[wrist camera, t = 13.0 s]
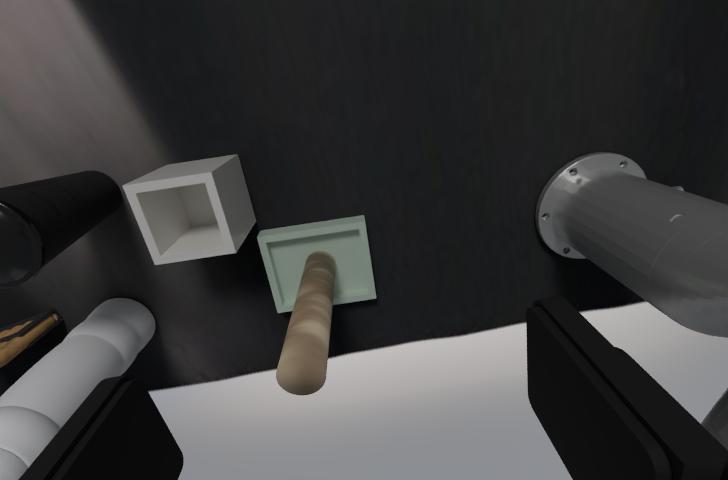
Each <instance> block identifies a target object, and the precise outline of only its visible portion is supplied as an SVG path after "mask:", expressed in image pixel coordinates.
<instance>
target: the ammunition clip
mask: <svg viewBox="0 0 728 480" xmlns="http://www.w3.org/2000/svg"><path fill="white" fill-rule="evenodd" d="M62 321H63V319H62V318H61V317H60V316H59V315H58V313H57V312H56V311H55V310H54V309H51V310H48V311H45V312H43V313H40V314H37V315H35V316H32V317H29V318H27V319H24V320H21V321H19V322H16V323H13V324H11V325H8V326H5V327H3V328H0V368H1V367H2V366H4V365H6V364H7V363H8V362H10V361H11V360H12V359H13V358H15V357H16V356H17V355H18V354H19V353H21V352H22V351H23V350H25V349H27V348H30V347H31V346H33V345H34V344H35V343H36V342H38V341H39V340H40V339H41V338H42V337H44V336H45V335H46V334H47V333H48V332H50V331H51V330H52V329H53V328H54V327H56V326H57V325H58V324H59V323H60V322H62Z"/></svg>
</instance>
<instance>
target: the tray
mask: <svg viewBox="0 0 728 480" xmlns="http://www.w3.org/2000/svg"><path fill="white" fill-rule="evenodd" d="M257 240H258V243H259V247H260V251H261V254H262V258H263V261H264V265H265V269H266V272H267V276H268V279H269V283H270V287H271V290H272V294H273V297H274V301H275V305H276V308H277V312H278V313H282V312H289V311H293V308H294V304H295V300H296V297H297V293H298V289H299V285H300V282H301V278H302V274H303V270H304V267H305V263H306V259H307V258H308V256H309V255H310V254H312V253H313V252H316V251H325V252H327V253H329V254H331V255H332V256H333V257H334V259H335V261H336V273H335V284H334V295H333V305H336V304H343V303H350V302H356V301H363V300H370V299H377V298H376V292H375V285H374V278H373V272H372V265H371V258H370V251H369V245H368V238H367V231H366V224H365V218H364V215H362V216H355V217H349V218H342V219H335V220H329V221H322V222H315V223H309V224H302V225H295V226H289V227H282V228H275V229H269V230H262V231H260V233H259V234H258V236H257Z"/></svg>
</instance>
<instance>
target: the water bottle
mask: <svg viewBox="0 0 728 480" xmlns="http://www.w3.org/2000/svg"><path fill="white" fill-rule="evenodd" d="M154 332H155V320H154V317H153V315H152V314H151V312H150V311H149V310H148V309H147V308H146V307H145V306H144V305H142V304H141V303H139V302H137V301H135V300H132V299H128V298H113V299H109V300H107V301H105V302H103V303H102V304H100V305H99V306H98V307H97V308H96V309H95V310H94V311H93V312H92V313H91V314H90V315H89V316H88V317H87V319H86V320H85V321H84V322H82V323H81V324H79V325H78V326H77V327H75V328H74V329H73V330H72V331H71V332H70V333H69V334H68V335H67V336H66V338H65V339H64V340H63V342H62V343H60V344H59V345H58V346H56V347H55V348H54V349H53V350H51V351H50V352H49V353H48V354H46V355H45V356H44V357H43V358H42V359H41V360H39V361H38V362H37V363H36V364H35V365H34V366H33V367H31V368H30V369H29V370H28V371H27V372H26V373H25V374H24V375H23V376H22V377H21V378H19V379H18V380H17V381H16V382H15V383H14V384H13V385H12V386H11V387H10V388H9V389H8V390H7V391H6V392H5V393H4V394H3V395H2V396H1V397H0V480H19V478H20V477H21V476H22V475H23V474H24V472H25V471H26V470H27V469H28V468H29V466H30V465H31V464H32V463H33V462H34V460H35V459H36V458H37V457H38V456H39V454H40V453H41V452H42V451H43V450H44V448H45V447H46V446H47V445H48V443H49V442H50V441H51V440H52V439H53V437H54V436H55V435H56V434H57V433H58V431H59V430H60V429H61V428H62V427H63V425H64V424H65V423H66V422H67V421H68V419H69V418H70V417H71V416H72V415H73V413H74V412H75V411H76V410H77V409H78V407H79V406H80V405H81V404H82V403H83V401H84V400H85V399H86V398H87V397H88V395H89V394H90V393H91V392H92V391H93V389H94V388H95V387H96V386H97V385H98V383H99V382H101V381H102V380H104V379H106V378H111V377H116V376H120V375H122V374H123V373H124V372H125V371H126V370H127V369H128V368H129V366H130V365H131V364H132V363H133V361H134V360H135V358H136V356H137V354H138V353H139V352H140V351H141V350H142V349H143V348H144V347H145V345H146V344H147V343H148V342H149V340H150V339H151V338H152V336H153V334H154Z"/></svg>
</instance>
